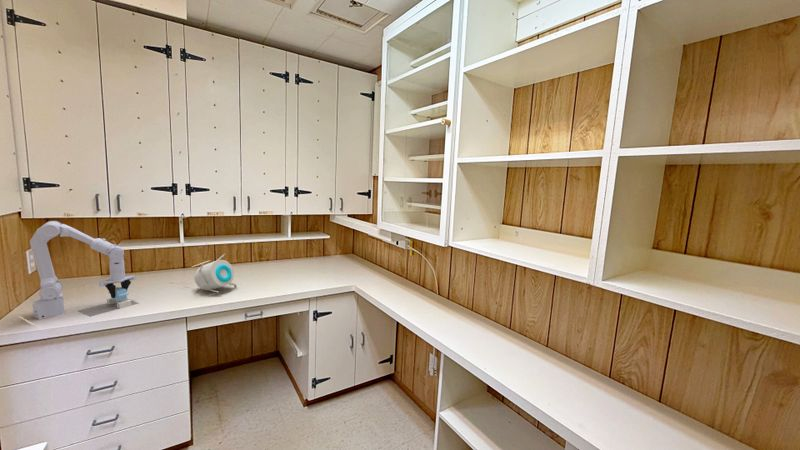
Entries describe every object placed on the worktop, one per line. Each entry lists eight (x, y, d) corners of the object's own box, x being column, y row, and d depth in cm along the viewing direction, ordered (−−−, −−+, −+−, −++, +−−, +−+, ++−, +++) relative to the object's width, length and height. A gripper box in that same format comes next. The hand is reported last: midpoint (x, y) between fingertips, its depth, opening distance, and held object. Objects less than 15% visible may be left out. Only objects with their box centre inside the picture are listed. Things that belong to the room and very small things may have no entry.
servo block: (119, 301, 163) (119, 290, 162) (108, 297, 167) (108, 287, 166) (129, 299, 166) (128, 288, 166) (118, 295, 170) (117, 284, 170)
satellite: (210, 256, 210) (174, 268, 186) (233, 248, 203) (198, 259, 180) (223, 289, 212) (189, 305, 188) (246, 281, 205) (214, 297, 182)
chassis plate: (90, 318, 152) (89, 311, 152) (77, 312, 157) (76, 305, 157) (139, 305, 170) (139, 298, 170) (126, 300, 175) (126, 293, 175)
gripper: (103, 275, 156) (105, 302, 158) (138, 268, 170) (139, 293, 171) (96, 272, 159) (97, 299, 161) (130, 266, 172) (131, 291, 174)
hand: (118, 296), depth 166 cm, fingers closed on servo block, 4 cm apart
